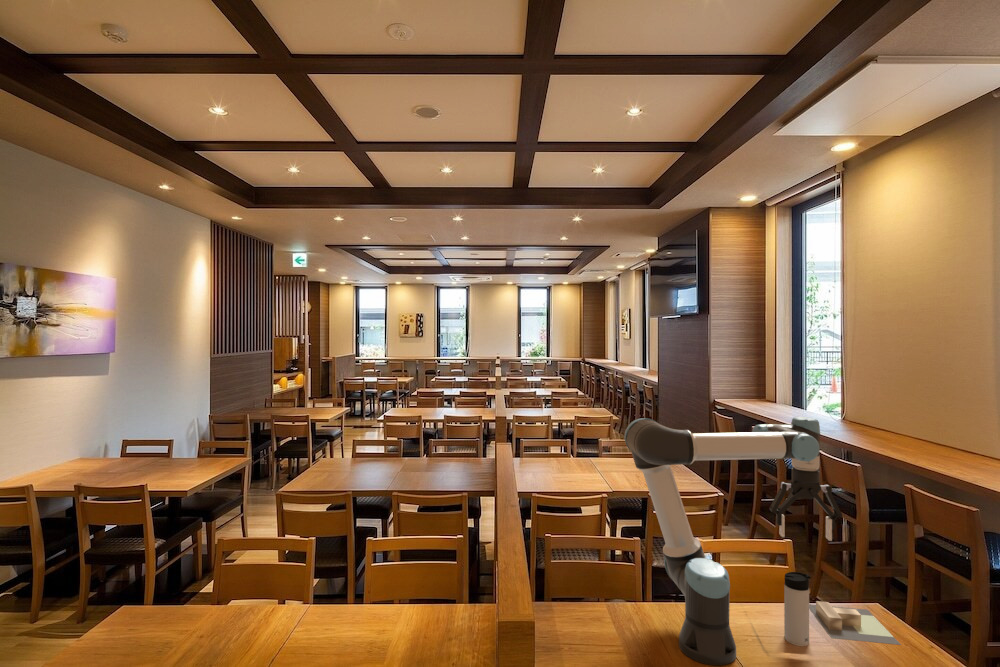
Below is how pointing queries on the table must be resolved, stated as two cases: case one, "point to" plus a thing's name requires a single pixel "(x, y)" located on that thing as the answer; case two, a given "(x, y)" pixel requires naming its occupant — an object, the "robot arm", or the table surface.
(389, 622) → the table surface
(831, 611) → the T block
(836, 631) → the mat
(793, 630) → the travel mug
